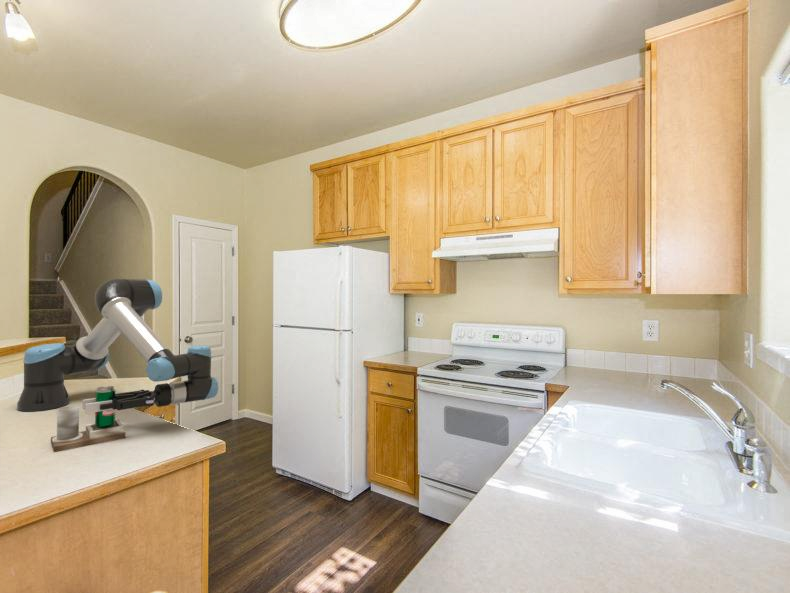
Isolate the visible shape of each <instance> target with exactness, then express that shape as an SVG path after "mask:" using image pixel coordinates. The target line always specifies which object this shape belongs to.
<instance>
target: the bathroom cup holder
mask: <svg viewBox="0 0 790 593" xmlns="http://www.w3.org/2000/svg"><path fill="white" fill-rule="evenodd" d="M56 410H57V411H56V414H57V415H56V435H54V436H50V444H51V447H52V451H53V453H56V452H60V451H67V450H71V449H76V448H82V447H86V446H91V445H96V444H97V445H98V444H100V443H107V442H110V441H116V440H121V439H126V435H127V434H126V432H125V425H124V423H122V421H120V419H115V423H114V425H112V426H110V427H106V428H97V427H96V426H95V422H94V423H89V424H85V430H81V431H80V430H79V428H80V406H78V405H69V406H62V407H59V408H57V409H56Z"/></svg>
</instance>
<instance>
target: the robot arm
mask: <svg viewBox="0 0 790 593" xmlns="http://www.w3.org/2000/svg"><path fill="white" fill-rule="evenodd" d="M162 302H163V291H162V288H161V286H160V284H159V283H158V282H156V281H154V280H151V279H145V278H143V279H141V278H140V279H139V278H137V279H134V278H112V279H108V280H106V281H104V282H102V283H101V284H100V285H99V286H98V287H97V289H96V291H95V293H94V304H95V307H96V309H97V311H98V312H99V313H100V314H101V316H102V319H100V321H99V322H98V323H97V324H96V325H95V326H94V327H93V328H92V330H91V331H90V332H89V333H88V335H86V336H81V337H79V339H78V340H77V341H76V342H75V343H74V344H72V345H65V344H64V343H61V342H56V343H55V342H52V343H46V344H40V345H34V346H31V347H29V348H28V349H26V350H25V351H24V356H23V389H22V392H21V394H20V396H19V399H18V400H17V404H16V405H17V406H16V409H17V411H20V412H39V411H47V410H53V409H59V408H63V407H66V406H67V405H68V404H70V396H69V393H68V391H67V389H66V386H65V376H70V375H76V374H82V373H86V372H94V371H98V370H101V369H102V368H104V367H105V366H106V365H107V364H108V361H109V358H110V352H109V347H110V346H111V345H112V344H113V343H114V342H115V341H116V339H117V338H118V337H119V336H120V335H121V334H122V335H123V337H125V339H126V340H127V341H128V342H129V343H130V344H131V346H132V347H133V348H134V350H136V351H137V353H138V354H139V355H140V356H141V357H142V358H143V360H144V361H145V362H146V367H145V372H146V374H147V377H148V379H149V380H150V381H152V382H155V383H156V382H157V383H158V382H165V381H170V380H173V379H177V378H181V377H186V376H187V380H180V381H174V382H170V383H160V384H159V383H158V384H156V385H155V386H154V389H153V390H149V389H147V390H145V389H139V390H134V391H133V390H132V391H127V392H119V393H115V398H114V399H113V403H112V400H109V401H102V402H95V397H94V398H93V397H92V398H87V399H86V398H85V399H82V410H84V411H85V414H91V413H95V412H99V411H105V410H111V409H112V408H113V409H114V410H115V411H118V412H119V411H122V410H128V409H135V408H142V407H147V406H148V407H151V406H154V404H155V406H156V407H157V408H162V407H168V406H170V405H171V406H172V405H176V406H180V405H181V404H184V403H185V404H186V403H190V402H191V403H192V402H197V401H198V402H199V401H205V400H208V399H213V398H215V397H216V396H217V394H218V392H219V382H218V380H217V378H216V377H212V375H211V373H212V358H213V357H212V349H211V347H210V346H208V345H191V346H189V347H188V349H187V353H182V354H174V353H173V352H172V350H170V349H169V347H168V346H167V345H166V344H165V343H164V342H163V341H162V340H161V339H160V338H159V336H158V335H157V334H156V333H155V332H154V330H153V329H152V328H151V327H150V326H149V325H148V324H147V322H145V321H144V319H143V318H142V317H143V315H144V314H145V313H147V311H148V310H156V309H158V308H159V307H160V306H161V304H162Z"/></svg>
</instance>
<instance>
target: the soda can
mask: <svg viewBox="0 0 790 593" xmlns="http://www.w3.org/2000/svg"><path fill="white" fill-rule="evenodd" d="M94 394H95V395H94V396H95V397H94V398H95V402H102V401H109V400H112V403H113V399H114V398H115V394H116V389H115V386H113V385H104V386H99V387H97V388H96V390H95V392H94ZM115 420H116V410H114V409H113V408H112V409H111V410H105V411H99V412H94V423H95V426H96V427H97V428H106V427H110V426H112V425H114V423H115Z"/></svg>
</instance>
